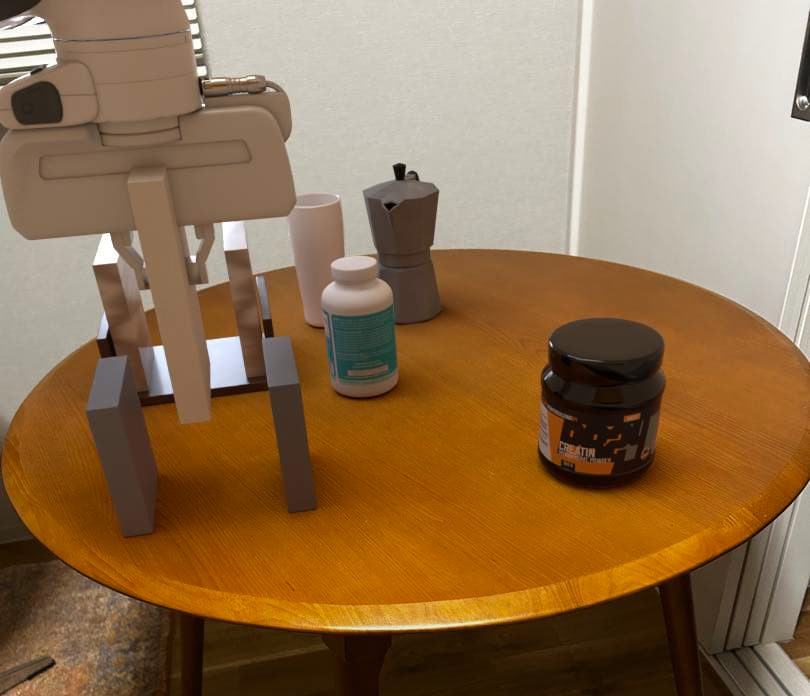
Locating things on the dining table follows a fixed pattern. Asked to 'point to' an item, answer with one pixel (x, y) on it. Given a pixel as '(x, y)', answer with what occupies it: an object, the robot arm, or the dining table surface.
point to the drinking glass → (315, 247)
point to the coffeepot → (405, 242)
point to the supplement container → (601, 401)
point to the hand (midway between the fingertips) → (174, 285)
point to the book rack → (229, 357)
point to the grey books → (132, 452)
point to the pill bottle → (360, 329)
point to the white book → (172, 292)
